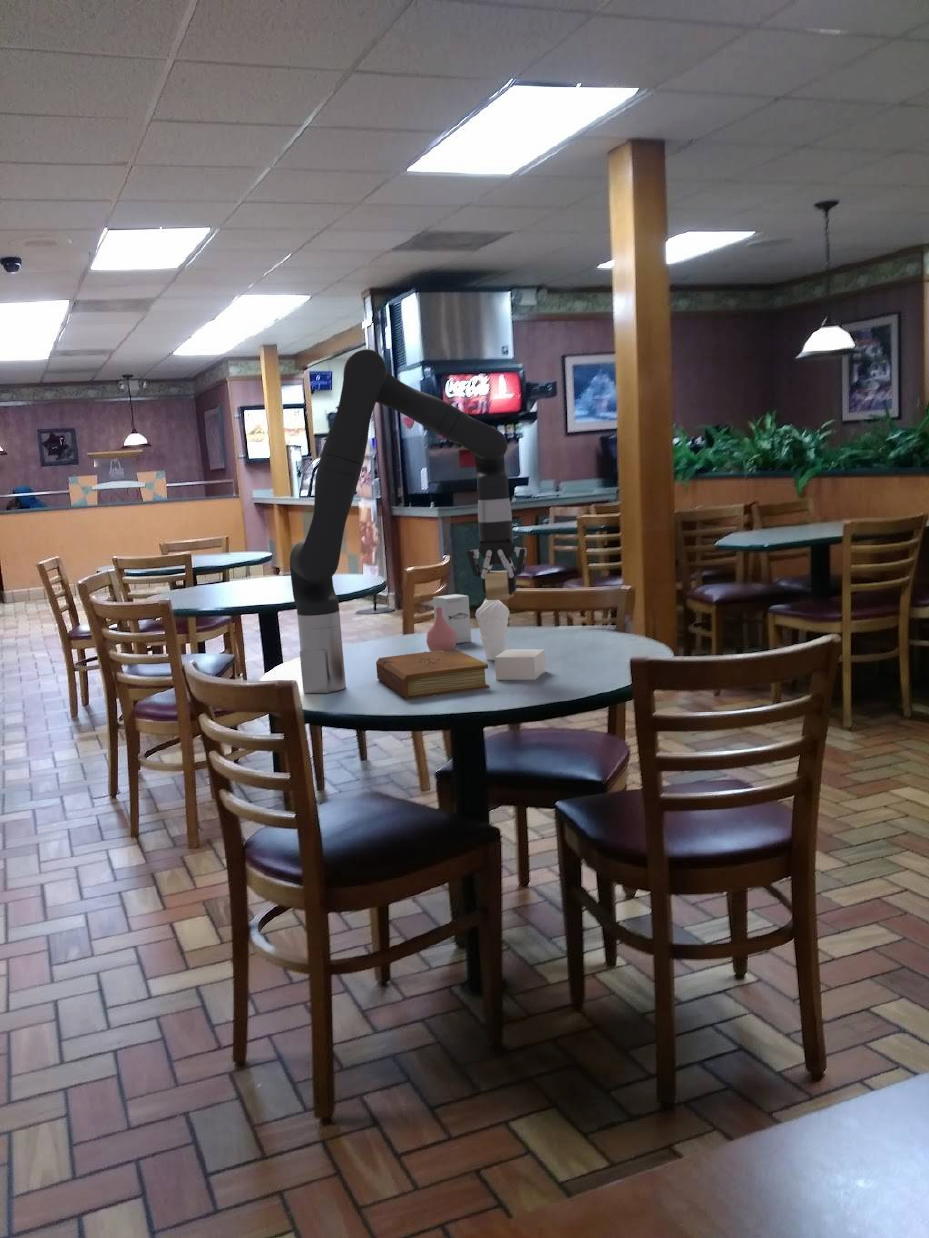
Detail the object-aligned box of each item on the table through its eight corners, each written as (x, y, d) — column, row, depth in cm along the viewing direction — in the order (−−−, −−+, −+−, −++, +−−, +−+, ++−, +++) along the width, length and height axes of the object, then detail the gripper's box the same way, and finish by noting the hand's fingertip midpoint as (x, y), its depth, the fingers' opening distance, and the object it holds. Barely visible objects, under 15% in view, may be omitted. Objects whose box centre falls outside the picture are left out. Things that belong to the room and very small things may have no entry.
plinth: (535, 679, 221) (534, 657, 221) (496, 679, 224) (494, 657, 224) (546, 671, 230) (544, 649, 229) (507, 671, 233) (506, 649, 232)
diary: (377, 683, 233) (375, 658, 232) (455, 672, 239) (453, 648, 238) (405, 701, 211) (403, 674, 210) (489, 689, 217) (487, 663, 216)
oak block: (507, 599, 229) (506, 573, 228) (486, 600, 231) (484, 573, 230) (513, 596, 234) (511, 570, 233) (492, 596, 236) (490, 571, 235)
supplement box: (448, 645, 272) (444, 598, 270) (435, 642, 278) (432, 596, 276) (472, 641, 275) (469, 595, 273) (459, 638, 282) (456, 593, 280)
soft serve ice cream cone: (512, 660, 245) (508, 594, 242) (478, 663, 245) (473, 596, 242) (512, 654, 253) (508, 590, 250) (478, 656, 253) (474, 592, 251)
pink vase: (459, 650, 263) (455, 604, 261) (455, 656, 256) (452, 608, 254) (429, 652, 264) (426, 606, 262) (425, 657, 256) (421, 610, 255)
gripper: (459, 522, 228) (465, 597, 231) (521, 518, 224) (526, 595, 227) (469, 519, 235) (474, 592, 238) (529, 516, 231) (534, 591, 234)
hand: (500, 593), depth 232 cm, fingers closed on oak block, 5 cm apart
